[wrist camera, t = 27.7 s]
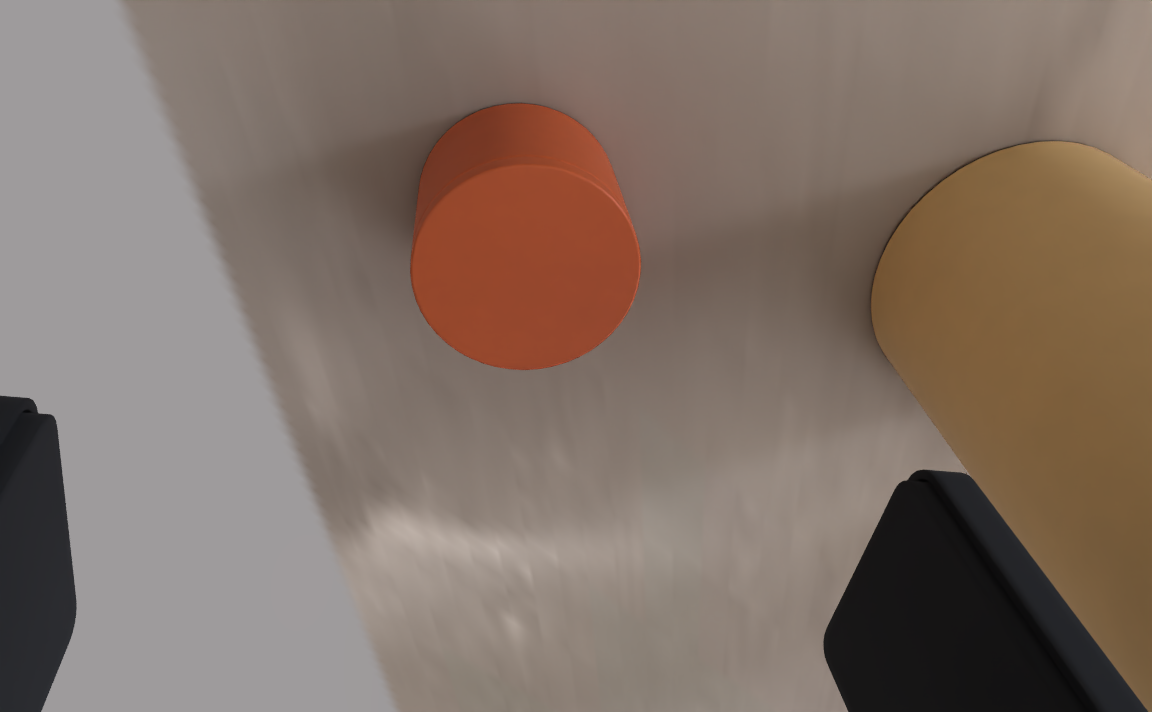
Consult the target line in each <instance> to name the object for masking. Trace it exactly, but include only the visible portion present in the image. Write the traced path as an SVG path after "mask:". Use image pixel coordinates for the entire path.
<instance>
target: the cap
mask: <svg viewBox="0 0 1152 712" xmlns="http://www.w3.org/2000/svg"><path fill="white" fill-rule="evenodd" d="M640 272H641V257H640V248H639V244H638V240H637V236H636V233H635V230H634V227H633V225H632V222H631V219H630V216H629V213H628V211H627V208H626V205H625V202H624V200H623V197H622V194H621V191H620V188H619V186H618V183H617V180H616V177H615V175H614V172H613V169H612V166H611V164H610V162H609V159H608V157H607V155H606V153H605V151H604V150H603V148H602V147H601V145H600V144H599V142H598V141H597V140H596V139H595V137H594V136H593V135H592V134H591V133H590V132H589V131H588V130H587V129H586V128H585V127H584V126H582V125H581V124H579V123H578V122H577V121H575V120H574V119H572V118H571V117H569V116H567V115H565V114H563V113H561V112H559V111H556V110H553V109H550V108H548V107H543V106H539V105H534V104H523V103H517V104H504V105H498V106H493V107H489V108H486V109H483V110H480V111H478V112H476V113H473V114H471V115H469V116H467V117H466V118H464V119H463V120H461V121H459V122H458V123H456V124H455V125H454V126H453V127H452V128H450V129H449V130H448V131H447V132H446V133H445V134H444V135H443V136H442V137H441V138H440V140H439V141H438V142H437V143H436V145H435V146H434V148H433V149H432V151H431V152H430V154H429V156H428V158H427V160H426V162H425V165H424V168H423V171H422V174H421V179H420V184H419V191H418V200H417V209H416V217H415V226H414V235H413V244H412V253H411V268H410V274H411V282H412V288H413V292H414V296H415V299H416V302H417V304H418V306H419V308H420V311H421V313H422V314H423V316H424V318H425V319H426V321H427V322H428V324H429V325H430V326H431V327H432V329H433V330H434V331H435V332H436V334H437V335H439V336H440V337H441V338H442V339H443V340H444V341H445V342H446V343H447V344H448V345H450V346H451V347H453V348H454V349H455V350H457V351H458V352H460V353H462V354H464V355H465V356H467V357H469V358H471V359H474V360H476V361H479V362H481V363H484V364H487V365H491V366H495V367H500V368H506V369H517V370H530V369H541V368H547V367H552V366H556V365H559V364H563V363H566V362H568V361H571V360H573V359H576V358H578V357H580V356H582V355H584V354H585V353H587V352H589V351H591V350H592V349H594V348H595V347H596V346H598V345H599V344H601V343H602V342H603V341H604V340H605V339H606V338H607V337H608V336H610V335H611V334H612V333H613V331H614V330H615V329H616V328H617V327H618V326H619V324H620V323H621V322H622V320H623V319H624V317H625V316H626V314H627V313H628V311H629V309H630V307H631V305H632V303H633V301H634V298H635V295H636V292H637V289H638V285H639V279H640Z"/></svg>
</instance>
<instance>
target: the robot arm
mask: <svg viewBox="0 0 1152 712" xmlns="http://www.w3.org/2000/svg"><path fill="white" fill-rule="evenodd" d="M75 618H76V595H75V585H74V576H73V567H72V557H71V548H70V540H69V530H68V521H67V512H66V503H65V494H64V485H63V476H62V467H61V458H60V449H59V439H58V430H57V424H56V420H55V418H54V416H52V415H50V414H38V412H37V407H36V405H35V403H34V401H33V400H31V399H30V398H20V397H7V396H0V712H41V710H42V708H43V705H44V703H45V701H46V698H47V696H48V693H49V691H50V688H51V686H52V683H53V681H54V678H55V676H56V673H57V671H58V669H59V666H60V664H61V661H62V659H63V656H64V654H65V651H66V649H67V646H68V644H69V641H70V639H71V636H72V633H73V628H74V624H75ZM824 654H825V658H826V661H827V664H828V666H829V668H830V671H831V673H832V675H833V678H834V680H835V682H836V684H837V687H838V689H839V691H840V694H841V696H842V698H843V700H844V703H845V705H846V707H847V710H848V712H1148V711H1147V709H1146V708H1145V707H1144V705H1143V704H1142V703H1141V701H1140V700H1139V699H1138V697H1137V696H1136V695H1135V693H1134V692H1133V691H1132V689H1131V688H1130V687H1129V685H1128V684H1127V683H1126V681H1125V680H1124V679H1123V677H1122V676H1121V675H1120V673H1119V672H1118V671H1117V669H1116V668H1115V667H1114V665H1113V664H1112V663H1111V661H1110V660H1109V659H1108V657H1107V656H1106V655H1105V653H1104V652H1103V651H1102V649H1101V648H1100V647H1099V645H1098V644H1097V643H1096V641H1095V640H1094V639H1093V638H1092V636H1091V635H1090V634H1089V632H1088V631H1087V630H1086V628H1085V627H1084V626H1083V624H1082V623H1081V622H1080V620H1079V619H1078V618H1077V616H1076V615H1075V614H1074V612H1073V611H1072V610H1071V608H1070V607H1069V606H1068V604H1067V603H1066V602H1065V600H1064V599H1063V598H1062V596H1061V595H1060V594H1059V592H1058V591H1057V590H1056V588H1055V587H1054V586H1053V584H1052V583H1051V582H1050V580H1049V579H1048V578H1047V576H1046V575H1045V574H1044V572H1043V571H1042V570H1041V568H1040V567H1039V566H1038V564H1037V563H1036V562H1035V560H1034V559H1033V558H1032V556H1031V555H1030V554H1029V552H1028V551H1027V550H1026V548H1025V547H1024V546H1023V544H1022V543H1021V542H1020V540H1019V539H1018V538H1017V536H1016V535H1015V534H1014V533H1013V531H1012V530H1011V529H1010V527H1009V526H1008V525H1007V523H1006V522H1005V521H1004V519H1003V518H1002V517H1001V515H1000V514H999V513H998V511H997V510H996V509H995V507H994V506H993V505H992V503H991V502H990V501H989V499H988V498H987V497H986V495H985V494H984V493H983V491H982V490H981V489H980V487H979V486H978V485H977V483H976V482H975V481H974V480H973V479H972V478H971V477H970V476H969V475H967V474H964V473H958V472H946V471H933V470H919V471H916V472H915V473H913V474H912V475H911V476H910V478H909V479H908V480H907V481H902V482H901V483H899V484H898V486H897V487H896V489H895V490H894V492H893V494H892V496H891V498H890V500H889V502H888V505H887V507H886V509H885V511H884V513H883V515H882V517H881V519H880V521H879V523H878V525H877V527H876V529H875V531H874V533H873V535H872V537H871V539H870V541H869V543H868V545H867V547H866V549H865V551H864V553H863V555H862V557H861V560H860V562H859V564H858V566H857V568H856V570H855V572H854V574H853V576H852V578H851V580H850V582H849V584H848V586H847V588H846V590H845V592H844V594H843V596H842V598H841V600H840V602H839V604H838V606H837V608H836V610H835V612H834V615H833V617H832V619H831V621H830V623H829V625H828V627H827V629H826V632H825V635H824Z"/></svg>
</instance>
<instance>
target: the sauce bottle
mask: <svg viewBox="0 0 1152 712" xmlns="http://www.w3.org/2000/svg"><path fill="white" fill-rule="evenodd" d="M871 315H872V324H873V328H874V332H875V335H876V339H877V341H878V343H879V345H880V347H881V349H882V351H883V353H884V354H885V356H886V357H887V358H888V360H889V361H890V363H891V364H892V366H893V367H894V368H895V370H896V371H897V373H898V374H899V375H900V377H901V378H902V380H903V381H904V383H905V384H906V385H907V387H908V388H909V390H910V391H911V392H912V394H913V395H914V397H915V398H916V399H917V401H918V402H919V404H920V405H921V407H922V408H923V409H924V411H925V412H926V414H927V415H928V416H929V418H930V419H931V421H932V422H933V423H934V425H935V426H936V428H937V429H938V430H939V432H940V433H941V435H942V436H943V438H944V439H945V440H946V442H947V443H948V445H949V446H950V447H951V449H952V450H953V452H954V453H955V454H956V456H957V457H958V459H959V460H960V462H961V463H962V464H963V466H964V467H965V469H966V470H967V471H968V473H969V474H970V476H971V477H972V478H973V480H974V481H975V482H976V483H977V485H978V486H979V487H980V489H981V490H982V491H983V493H984V494H985V495H986V497H987V498H988V499H989V501H990V502H991V503H992V505H993V506H994V507H995V509H996V510H997V511H998V513H999V514H1000V515H1001V517H1002V518H1003V519H1004V521H1005V522H1006V523H1007V525H1008V526H1009V527H1010V529H1011V530H1012V531H1013V533H1014V534H1015V535H1016V536H1017V538H1018V539H1019V540H1020V542H1021V543H1022V544H1023V546H1024V547H1025V548H1026V550H1027V551H1028V552H1029V554H1030V555H1031V556H1032V558H1033V559H1034V560H1035V562H1036V563H1037V564H1038V566H1039V567H1040V568H1041V570H1042V571H1043V572H1044V574H1045V575H1046V576H1047V578H1048V579H1049V580H1050V582H1051V583H1052V584H1053V586H1054V587H1055V588H1056V590H1057V591H1058V592H1059V594H1060V595H1061V596H1062V598H1063V599H1064V600H1065V602H1066V603H1067V604H1068V606H1069V607H1070V608H1071V610H1072V611H1073V612H1074V614H1075V615H1076V616H1077V618H1078V619H1079V620H1080V622H1081V623H1082V624H1083V626H1084V627H1085V628H1086V630H1087V631H1088V632H1089V634H1090V635H1091V636H1092V638H1093V639H1094V640H1095V641H1096V643H1097V644H1098V645H1099V647H1100V648H1101V649H1102V651H1103V652H1104V653H1105V655H1106V656H1107V657H1108V659H1109V660H1110V661H1111V663H1112V664H1113V665H1114V667H1115V668H1116V669H1117V671H1118V672H1119V673H1120V675H1121V676H1122V677H1123V679H1124V680H1125V681H1126V683H1127V684H1128V685H1129V687H1130V688H1131V689H1132V691H1133V692H1134V693H1135V695H1136V696H1137V697H1138V699H1139V700H1140V701H1141V703H1142V704H1143V705H1144V707H1145V708H1146V709H1147V711H1148V712H1152V180H1151V179H1149V178H1148V177H1146V176H1144V175H1143V174H1141V173H1139V172H1138V171H1136V170H1134V169H1133V168H1131V167H1129V166H1128V165H1126V164H1125V163H1123V162H1121V161H1120V160H1118V159H1116V158H1115V157H1113V156H1111V155H1110V154H1108V153H1105V152H1103V151H1101V150H1099V149H1096V148H1094V147H1091V146H1087V145H1083V144H1079V143H1072V142H1063V141H1047V142H1034V143H1028V144H1022V145H1017V146H1014V147H1010V148H1007V149H1003V150H999V151H997V152H994V153H992V154H989V155H987V156H985V157H982V158H980V159H978V160H976V161H974V162H972V163H970V164H968V165H967V166H965V167H963V168H961V169H959V170H958V171H956V172H955V173H953V174H952V175H950V176H949V177H947V178H946V179H945V180H943V181H942V182H941V183H939V184H938V185H937V186H936V187H935V188H933V189H932V190H931V191H930V192H929V193H927V194H926V195H925V196H924V197H923V198H922V199H921V200H920V201H919V202H918V203H917V204H916V205H915V206H914V208H913V209H912V210H911V211H910V212H909V213H908V215H907V216H906V217H905V218H904V220H903V221H902V222H901V223H900V225H899V226H898V228H897V229H896V231H895V233H894V234H893V236H892V237H891V239H890V241H889V242H888V244H887V246H886V249H885V251H884V253H883V255H882V257H881V259H880V262H879V265H878V268H877V271H876V274H875V278H874V283H873V288H872V297H871Z"/></svg>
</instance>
